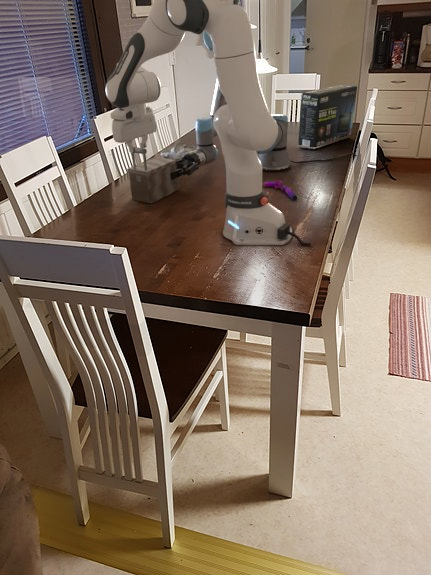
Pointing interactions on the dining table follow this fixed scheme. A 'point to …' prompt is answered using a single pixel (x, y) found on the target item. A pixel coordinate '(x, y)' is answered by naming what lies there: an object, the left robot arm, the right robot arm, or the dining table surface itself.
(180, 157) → the fossil
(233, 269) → the dining table surface
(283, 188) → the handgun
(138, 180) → the chest
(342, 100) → the router box
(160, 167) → the lid
